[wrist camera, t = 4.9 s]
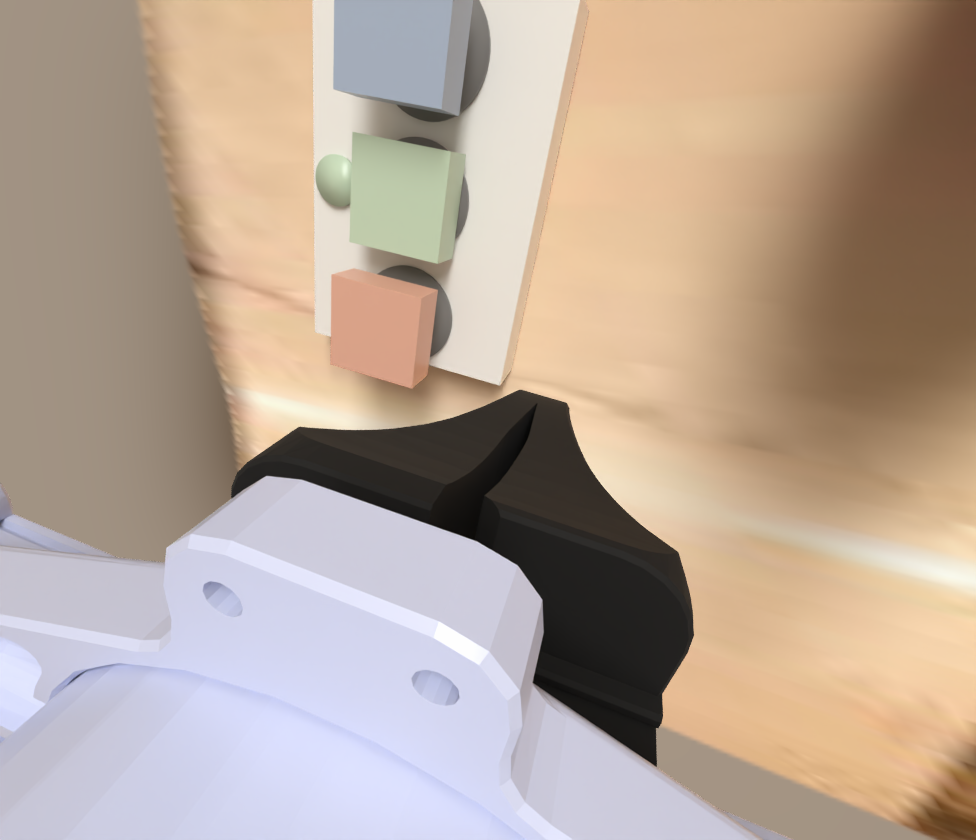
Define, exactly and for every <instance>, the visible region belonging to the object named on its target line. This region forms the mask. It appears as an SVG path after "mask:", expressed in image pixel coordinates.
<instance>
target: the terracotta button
mask: <svg viewBox="0 0 976 840" xmlns="http://www.w3.org/2000/svg"><path fill="white" fill-rule="evenodd" d="M437 294H438V290H436V289H432V288H428V287H425V286H421V285H417V284H413V283H409V282H405V281H401V280H398V279H394V278H390V277H386V276H382V275H378V274H374V273H370V272H367V271H363V270H359V269H355V268H353V269H349V270H345V271H342V272H338V273H335V274H331V363H330V364H331V365H335V366H338V367H341V368H345V369H348V370H351V371H355V372H358V373H361V374H365V375H368V376H371V377H375V378H378V379H381V380H385V381H388V382H391V383H395V384H398V385H401V386H405V387H408V388H411V389H412V388H413V387H415V386H416V385H417V384H418V383H419V382H420V381H421V380H423V379H424V378H425V377H426V376H427V375H428V368H429V359H430V351H431V343H432V335H433V327H434V318H435V310H436V302H437Z"/></svg>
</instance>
